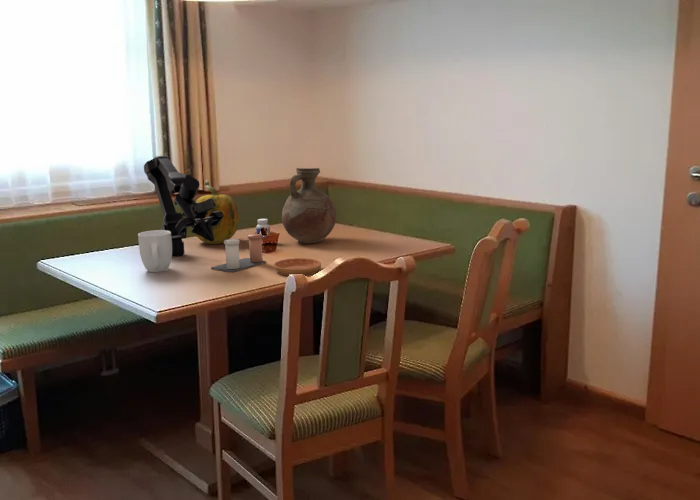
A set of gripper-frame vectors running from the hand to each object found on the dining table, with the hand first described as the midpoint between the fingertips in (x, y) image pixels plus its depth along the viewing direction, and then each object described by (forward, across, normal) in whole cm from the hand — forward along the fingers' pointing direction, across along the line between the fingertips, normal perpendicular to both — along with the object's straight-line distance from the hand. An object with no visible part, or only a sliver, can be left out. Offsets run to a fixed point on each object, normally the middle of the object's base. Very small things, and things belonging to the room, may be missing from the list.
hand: (213, 240), depth 255 cm
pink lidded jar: (+13, +11, 0) cm, 17 cm away
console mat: (+11, +5, +2) cm, 13 cm away
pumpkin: (-14, +30, +28) cm, 43 cm away
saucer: (+27, +10, -14) cm, 32 cm away
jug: (+9, +50, +5) cm, 51 cm away
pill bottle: (-1, +39, +15) cm, 42 cm away
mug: (-2, -15, +16) cm, 22 cm away
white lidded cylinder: (+13, 0, 0) cm, 13 cm away
